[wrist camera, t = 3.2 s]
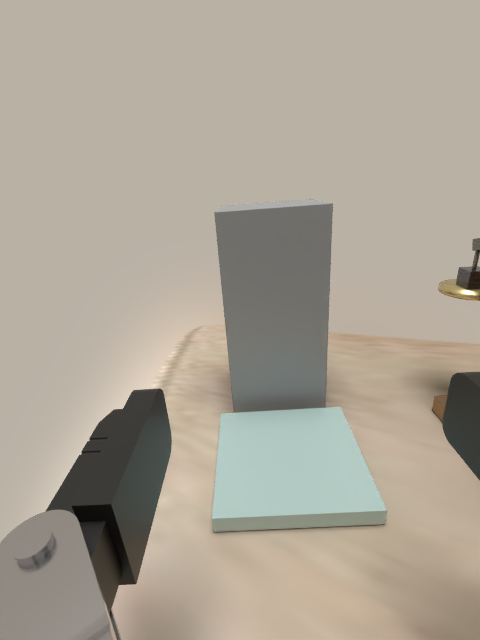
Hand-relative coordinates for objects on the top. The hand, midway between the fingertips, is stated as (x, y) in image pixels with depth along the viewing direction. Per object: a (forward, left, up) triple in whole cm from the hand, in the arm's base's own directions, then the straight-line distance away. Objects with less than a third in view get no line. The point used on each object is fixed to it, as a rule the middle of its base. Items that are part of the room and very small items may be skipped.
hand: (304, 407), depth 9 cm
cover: (0, -11, -7) cm, 13 cm away
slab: (0, -5, -7) cm, 9 cm away
